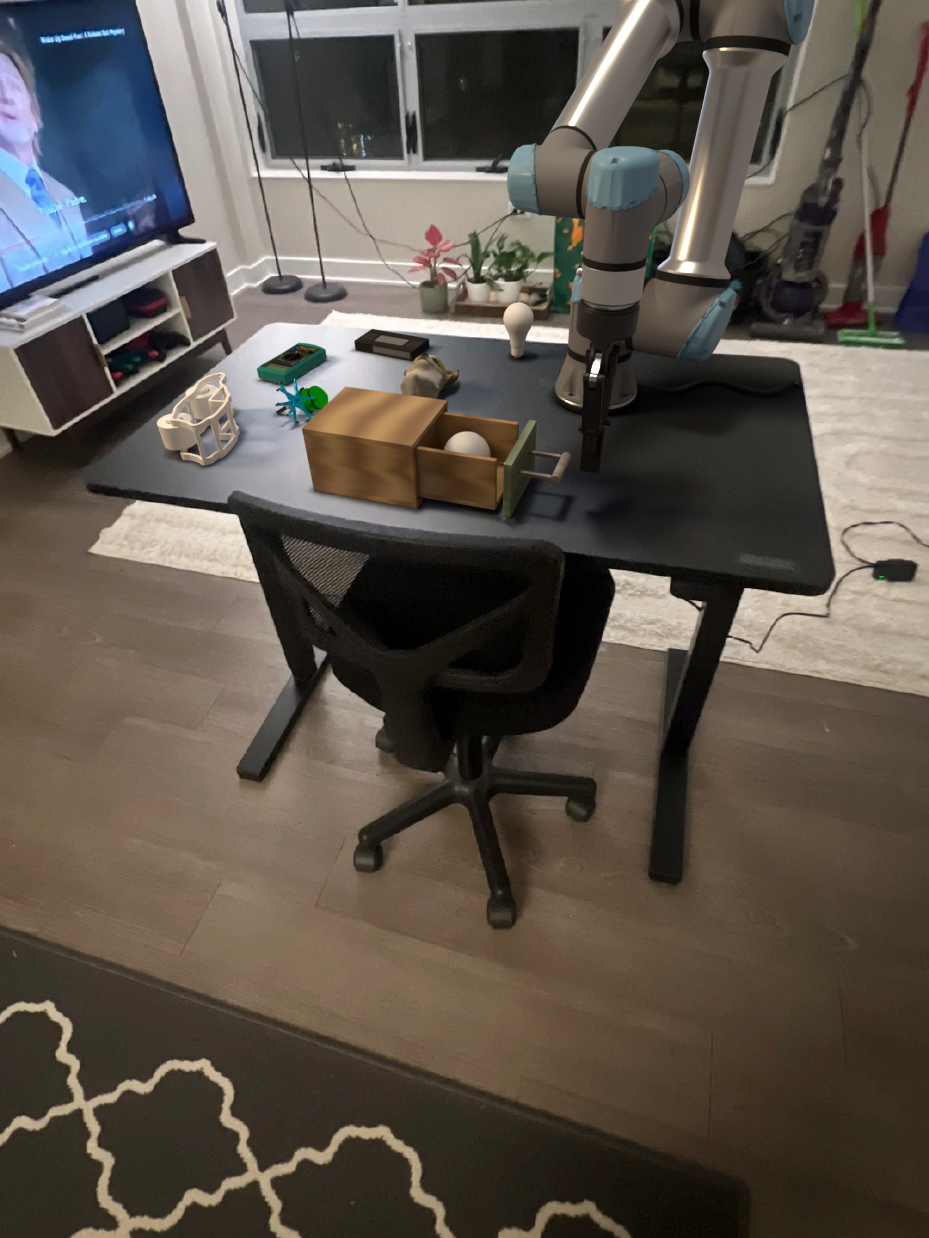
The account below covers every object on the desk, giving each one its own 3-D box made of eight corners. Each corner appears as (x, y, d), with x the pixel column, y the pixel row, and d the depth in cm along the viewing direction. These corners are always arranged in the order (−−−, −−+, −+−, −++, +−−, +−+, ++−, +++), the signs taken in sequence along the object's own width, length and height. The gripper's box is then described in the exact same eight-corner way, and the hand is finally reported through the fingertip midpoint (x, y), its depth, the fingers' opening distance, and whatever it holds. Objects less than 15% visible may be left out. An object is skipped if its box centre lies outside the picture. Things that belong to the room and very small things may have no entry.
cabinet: (450, 461, 119) (447, 400, 112) (417, 509, 109) (411, 445, 101) (353, 445, 124) (345, 386, 116) (313, 490, 113) (301, 428, 106)
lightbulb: (497, 354, 150) (498, 301, 143) (523, 349, 152) (525, 296, 144) (510, 365, 146) (511, 311, 139) (536, 360, 148) (539, 305, 140)
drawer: (573, 477, 113) (578, 426, 107) (552, 525, 103) (556, 472, 97) (437, 456, 118) (435, 406, 112) (406, 499, 109) (401, 447, 103)
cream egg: (434, 480, 111) (431, 438, 106) (462, 460, 115) (460, 418, 110) (487, 500, 106) (487, 457, 101) (514, 478, 111) (515, 435, 106)
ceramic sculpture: (385, 364, 127) (408, 336, 138) (388, 410, 132) (410, 380, 144) (443, 368, 125) (462, 340, 136) (444, 415, 130) (462, 385, 142)
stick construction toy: (291, 421, 126) (274, 378, 124) (269, 435, 130) (252, 394, 129) (339, 413, 135) (323, 373, 133) (317, 427, 139) (301, 388, 138)
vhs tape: (412, 361, 149) (411, 351, 147) (354, 350, 154) (353, 341, 152) (429, 348, 154) (429, 338, 152) (373, 337, 158) (372, 328, 157)
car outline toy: (205, 408, 135) (194, 371, 130) (260, 411, 134) (251, 373, 129) (156, 463, 121) (142, 423, 116) (218, 466, 119) (206, 426, 114)
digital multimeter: (329, 359, 151) (327, 345, 149) (286, 387, 141) (283, 372, 139) (301, 353, 153) (299, 339, 151) (257, 380, 144) (254, 366, 142)
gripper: (589, 280, 92) (574, 444, 108) (567, 315, 83) (553, 488, 99) (648, 285, 90) (623, 452, 106) (631, 322, 81) (607, 497, 97)
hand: (589, 469), depth 103 cm, fingers closed
